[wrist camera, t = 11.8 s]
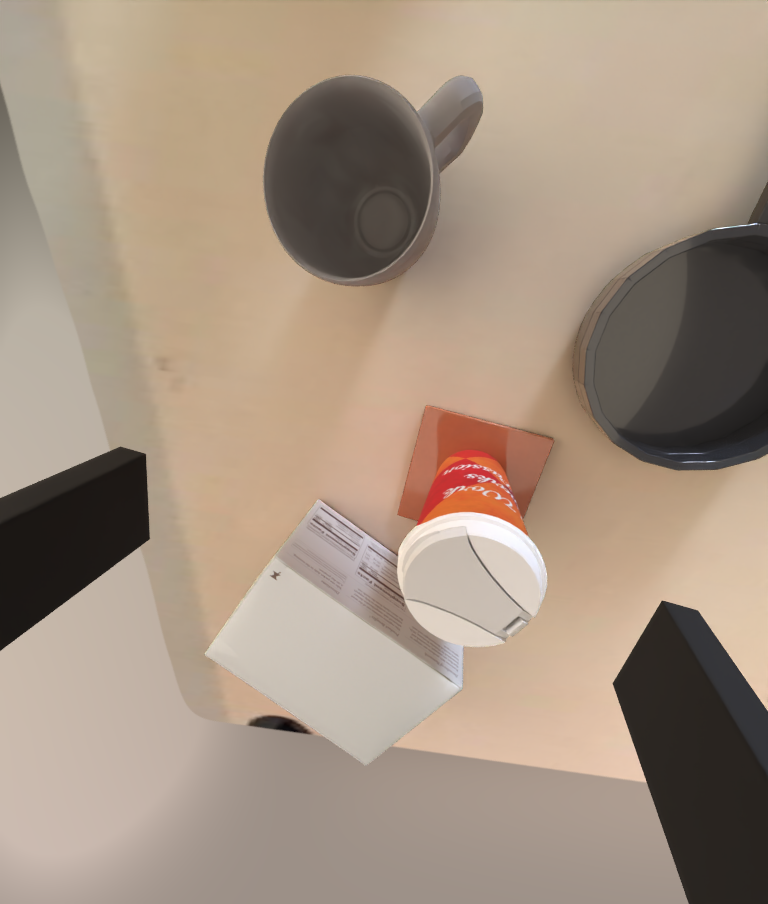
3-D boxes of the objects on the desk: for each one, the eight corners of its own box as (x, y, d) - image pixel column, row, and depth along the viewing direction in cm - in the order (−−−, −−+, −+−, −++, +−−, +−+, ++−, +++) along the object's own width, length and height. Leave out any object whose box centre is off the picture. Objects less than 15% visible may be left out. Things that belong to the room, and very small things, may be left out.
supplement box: (255, 583, 42) (199, 655, 34) (319, 495, 37) (272, 553, 28) (386, 678, 43) (364, 772, 34) (467, 604, 38) (465, 693, 29)
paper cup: (541, 476, 32) (588, 592, 19) (477, 540, 35) (480, 679, 22) (461, 416, 32) (453, 493, 19) (403, 485, 35) (362, 594, 22)
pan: (623, 213, 26) (644, 200, 22) (870, 262, 24) (931, 255, 21) (543, 423, 31) (551, 437, 28) (741, 475, 29) (774, 496, 26)
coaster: (426, 404, 32) (425, 406, 32) (553, 438, 31) (554, 440, 31) (398, 512, 36) (397, 515, 36) (510, 545, 35) (511, 549, 34)
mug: (374, 316, 31) (334, 320, 22) (300, 213, 30) (226, 174, 21) (516, 198, 27) (538, 144, 18) (437, 72, 25) (418, -55, 16)
